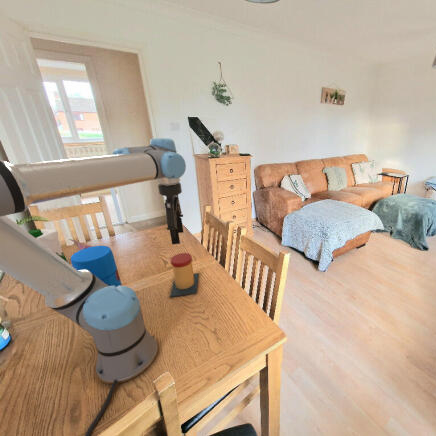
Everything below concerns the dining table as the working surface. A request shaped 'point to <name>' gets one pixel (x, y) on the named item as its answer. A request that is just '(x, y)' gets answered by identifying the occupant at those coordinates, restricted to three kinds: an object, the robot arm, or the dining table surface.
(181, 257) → the jam lid
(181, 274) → the jam jar
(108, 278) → the thermos
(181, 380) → the dining table surface
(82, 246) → the lily
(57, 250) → the milk carton
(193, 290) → the mat
